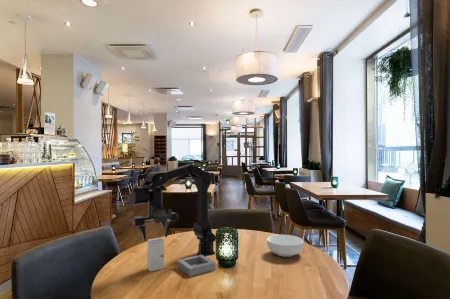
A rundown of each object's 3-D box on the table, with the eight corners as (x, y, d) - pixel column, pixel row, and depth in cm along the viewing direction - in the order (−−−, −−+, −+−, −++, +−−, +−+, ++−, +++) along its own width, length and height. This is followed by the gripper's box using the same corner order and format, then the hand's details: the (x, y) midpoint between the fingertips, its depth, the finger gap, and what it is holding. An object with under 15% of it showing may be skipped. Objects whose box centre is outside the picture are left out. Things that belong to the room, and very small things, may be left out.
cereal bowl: (263, 257, 132) (263, 242, 132) (271, 247, 148) (271, 233, 148) (301, 262, 126) (300, 246, 126) (305, 250, 141) (305, 236, 142)
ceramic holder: (201, 261, 129) (201, 254, 129) (215, 269, 119) (215, 262, 119) (177, 267, 122) (177, 260, 122) (189, 276, 112) (189, 269, 112)
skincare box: (150, 272, 118) (150, 242, 118) (146, 268, 121) (146, 239, 122) (164, 268, 121) (164, 239, 121) (160, 265, 125) (160, 237, 125)
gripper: (139, 207, 110) (139, 248, 110) (183, 202, 120) (183, 239, 120) (131, 203, 119) (131, 241, 119) (173, 199, 130) (173, 233, 129)
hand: (155, 239), depth 122 cm, fingers open, 9 cm apart
